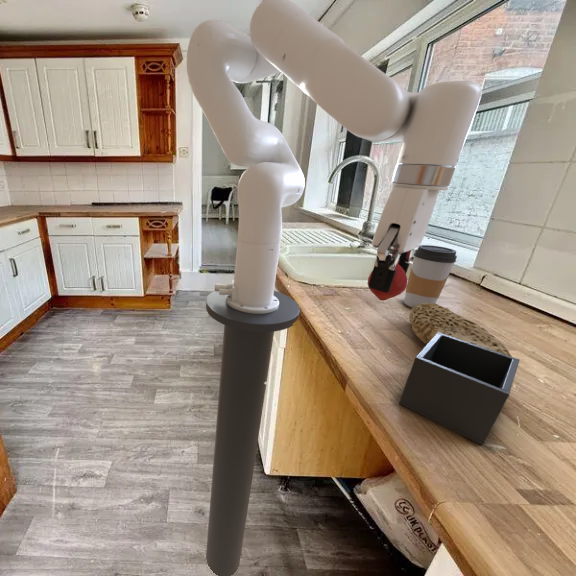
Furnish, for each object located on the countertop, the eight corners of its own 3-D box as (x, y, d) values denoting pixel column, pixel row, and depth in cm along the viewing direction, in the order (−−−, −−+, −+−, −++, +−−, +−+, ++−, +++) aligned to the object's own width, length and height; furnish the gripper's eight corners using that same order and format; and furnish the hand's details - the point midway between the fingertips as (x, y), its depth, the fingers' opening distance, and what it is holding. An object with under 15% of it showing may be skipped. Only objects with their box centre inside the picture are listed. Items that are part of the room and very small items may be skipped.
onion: (369, 305, 53) (383, 261, 50) (358, 292, 58) (370, 251, 55) (405, 309, 52) (421, 264, 49) (390, 295, 58) (404, 254, 54)
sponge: (398, 325, 70) (415, 351, 53) (414, 295, 68) (438, 311, 51) (465, 352, 65) (509, 390, 48) (486, 319, 63) (539, 346, 46)
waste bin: (482, 446, 38) (509, 394, 35) (398, 403, 45) (415, 357, 42) (496, 405, 45) (520, 359, 42) (422, 373, 52) (437, 332, 49)
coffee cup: (440, 315, 73) (463, 255, 68) (399, 307, 77) (417, 249, 72) (435, 303, 80) (455, 247, 75) (398, 296, 84) (414, 242, 78)
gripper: (411, 176, 55) (381, 271, 62) (372, 175, 45) (342, 289, 52) (463, 180, 50) (424, 282, 57) (433, 180, 39) (390, 305, 46)
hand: (385, 284), depth 54 cm, fingers closed on onion, 5 cm apart
